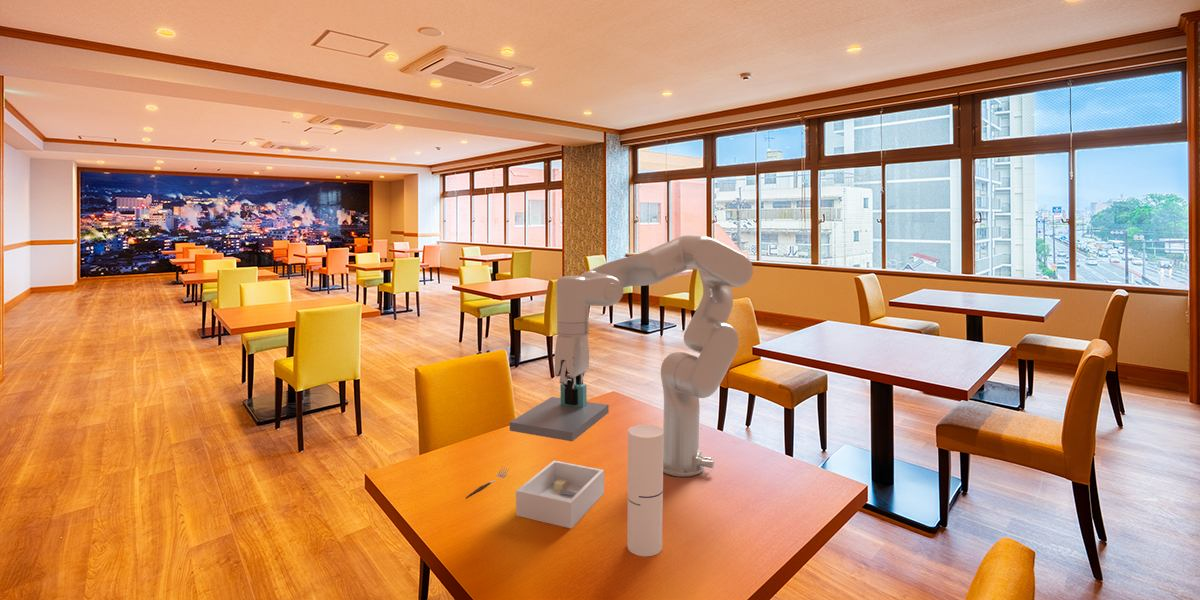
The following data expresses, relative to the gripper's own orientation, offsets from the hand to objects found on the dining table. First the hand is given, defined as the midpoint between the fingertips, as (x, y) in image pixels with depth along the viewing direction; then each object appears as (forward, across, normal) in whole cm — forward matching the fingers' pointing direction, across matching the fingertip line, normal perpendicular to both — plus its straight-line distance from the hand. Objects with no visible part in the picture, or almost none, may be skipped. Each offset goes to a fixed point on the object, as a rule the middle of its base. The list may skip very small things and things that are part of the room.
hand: (573, 402), depth 141 cm
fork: (+24, +6, -22) cm, 33 cm away
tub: (+23, +7, 0) cm, 24 cm away
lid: (+3, +6, 0) cm, 7 cm away
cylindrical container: (+23, +16, +24) cm, 37 cm away
